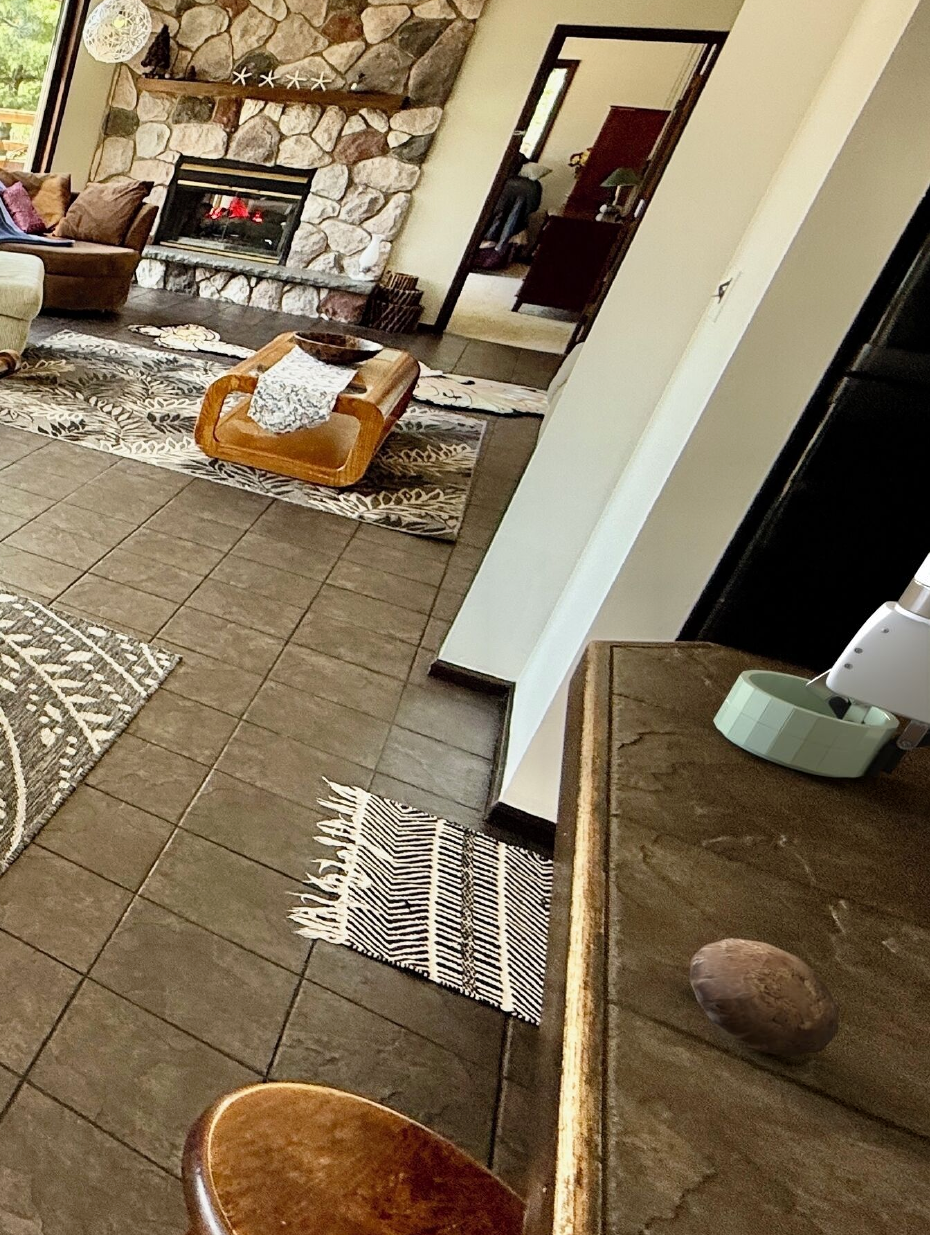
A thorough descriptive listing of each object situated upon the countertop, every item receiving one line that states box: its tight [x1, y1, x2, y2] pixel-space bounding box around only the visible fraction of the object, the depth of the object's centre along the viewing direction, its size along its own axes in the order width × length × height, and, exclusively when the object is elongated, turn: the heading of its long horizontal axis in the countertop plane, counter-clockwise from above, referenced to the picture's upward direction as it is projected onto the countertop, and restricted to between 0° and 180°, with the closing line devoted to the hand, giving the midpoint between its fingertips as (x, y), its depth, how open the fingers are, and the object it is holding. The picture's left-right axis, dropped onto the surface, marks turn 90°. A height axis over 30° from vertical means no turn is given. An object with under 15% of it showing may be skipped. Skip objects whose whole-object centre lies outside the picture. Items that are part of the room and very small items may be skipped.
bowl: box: [712, 669, 900, 779], centre depth 109 cm, size 11×11×6 cm
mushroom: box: [689, 937, 839, 1057], centre depth 73 cm, size 8×8×6 cm
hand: (855, 767), depth 106 cm, fingers closed on bowl
